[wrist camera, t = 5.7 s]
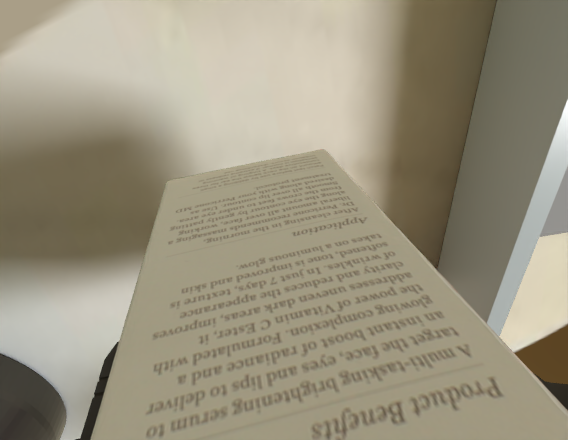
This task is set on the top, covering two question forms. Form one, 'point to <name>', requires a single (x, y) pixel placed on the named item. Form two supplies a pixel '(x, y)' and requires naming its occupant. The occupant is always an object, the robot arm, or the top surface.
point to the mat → (558, 211)
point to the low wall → (510, 156)
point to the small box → (305, 324)
